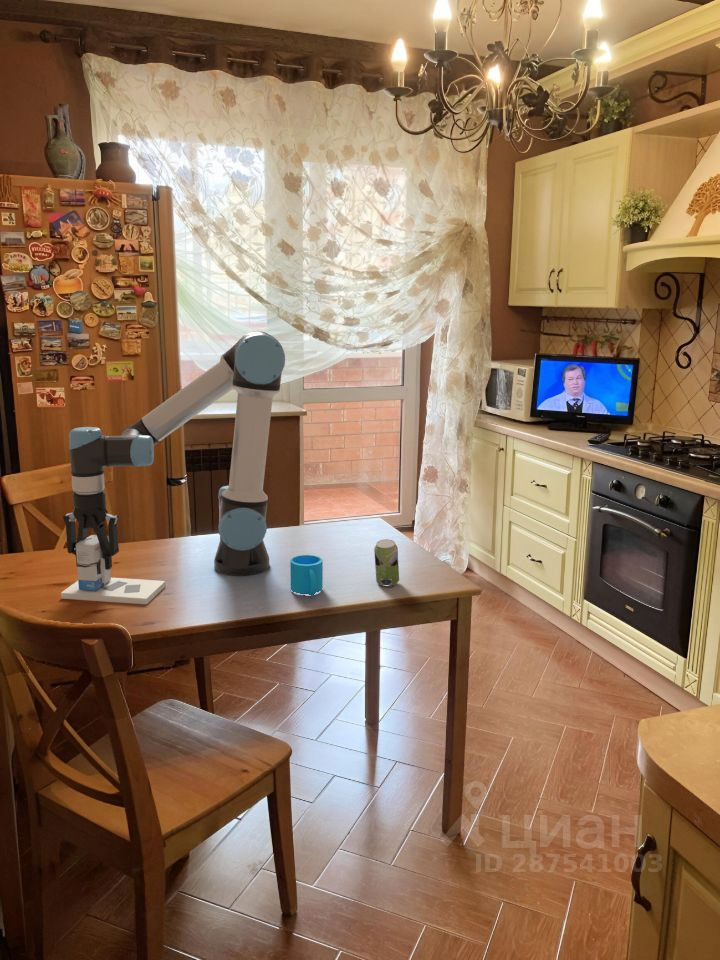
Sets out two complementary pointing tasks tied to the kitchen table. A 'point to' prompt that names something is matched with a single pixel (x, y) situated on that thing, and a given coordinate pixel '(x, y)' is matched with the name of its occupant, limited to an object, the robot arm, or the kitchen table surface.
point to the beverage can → (386, 562)
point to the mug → (306, 574)
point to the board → (118, 591)
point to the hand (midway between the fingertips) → (95, 580)
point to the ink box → (89, 564)
